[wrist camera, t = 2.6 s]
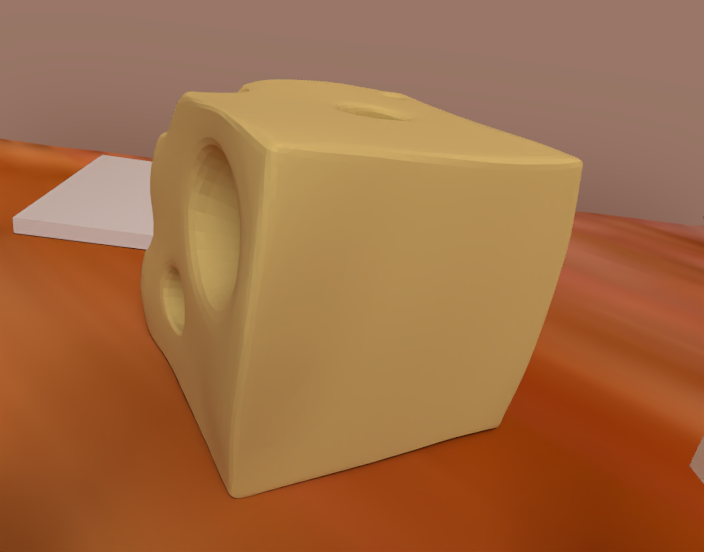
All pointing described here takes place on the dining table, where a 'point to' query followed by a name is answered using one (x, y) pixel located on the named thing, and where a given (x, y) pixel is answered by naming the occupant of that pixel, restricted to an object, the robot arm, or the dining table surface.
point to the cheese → (346, 273)
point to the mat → (96, 206)
